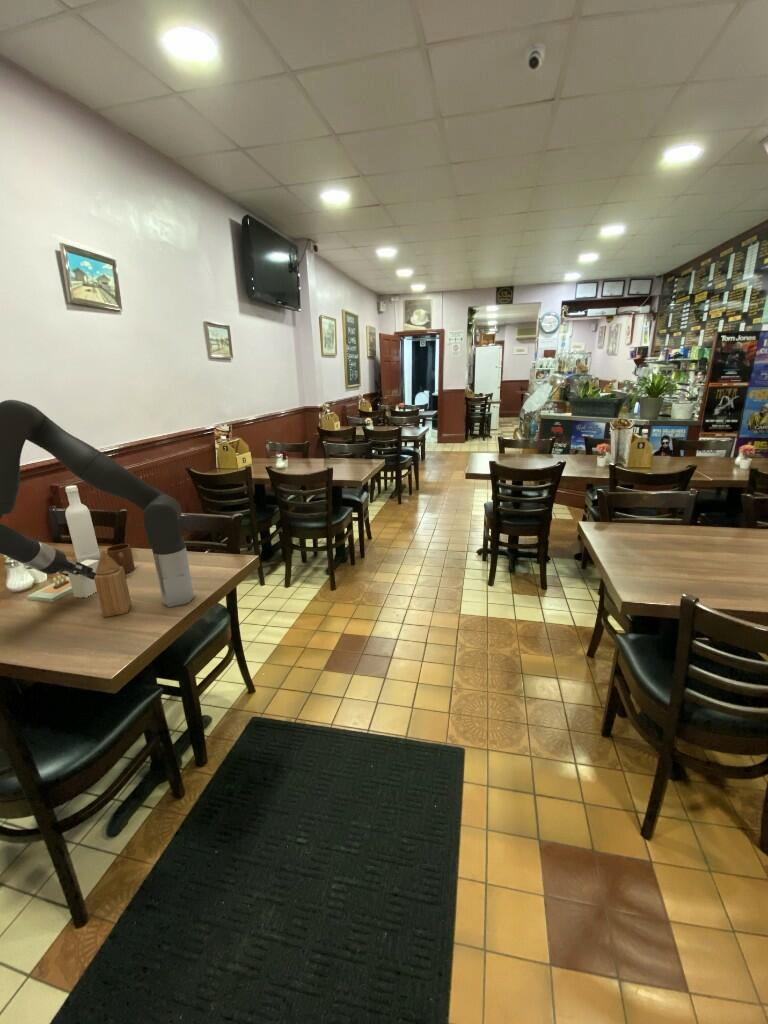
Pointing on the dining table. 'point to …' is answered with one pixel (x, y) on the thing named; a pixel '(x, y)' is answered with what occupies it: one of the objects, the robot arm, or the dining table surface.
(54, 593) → the header board
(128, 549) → the mug
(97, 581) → the decorative item
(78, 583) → the housing
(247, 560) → the dining table surface
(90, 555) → the bottle
